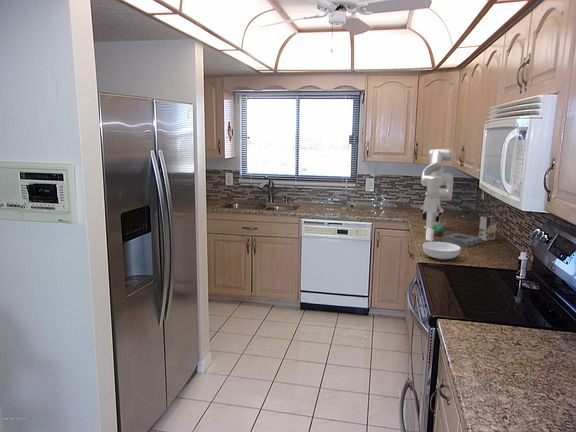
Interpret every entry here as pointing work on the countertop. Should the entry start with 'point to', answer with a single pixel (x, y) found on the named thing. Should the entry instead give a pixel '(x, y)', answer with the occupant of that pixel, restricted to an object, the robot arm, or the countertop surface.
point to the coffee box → (487, 227)
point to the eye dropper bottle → (429, 233)
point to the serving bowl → (441, 250)
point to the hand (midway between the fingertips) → (430, 220)
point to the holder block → (461, 239)
